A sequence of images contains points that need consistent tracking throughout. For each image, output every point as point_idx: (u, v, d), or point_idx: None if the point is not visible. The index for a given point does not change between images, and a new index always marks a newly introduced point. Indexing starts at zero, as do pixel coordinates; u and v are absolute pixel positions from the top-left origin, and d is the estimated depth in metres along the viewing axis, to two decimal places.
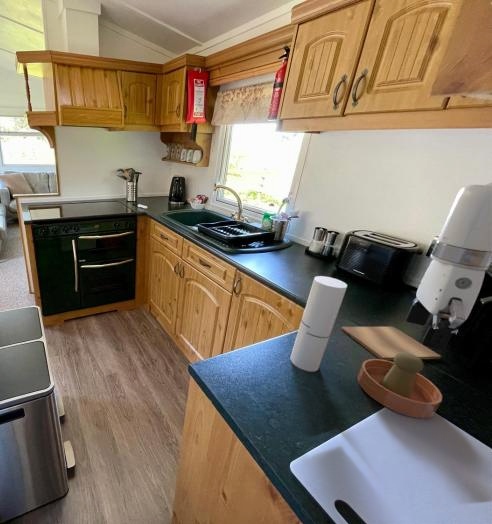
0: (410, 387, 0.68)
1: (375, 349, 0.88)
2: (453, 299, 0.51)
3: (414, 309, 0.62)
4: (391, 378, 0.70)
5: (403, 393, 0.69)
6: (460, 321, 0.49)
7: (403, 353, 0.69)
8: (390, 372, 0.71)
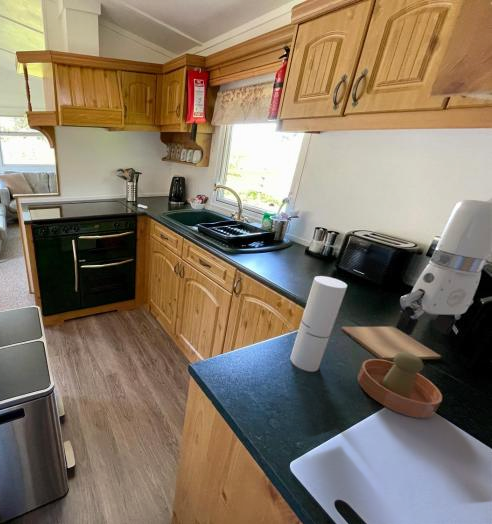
0: (410, 387, 0.68)
1: (375, 349, 0.88)
2: (419, 290, 0.62)
3: (439, 316, 0.66)
4: (391, 378, 0.70)
5: (403, 393, 0.69)
6: (403, 302, 0.62)
7: (403, 353, 0.69)
8: (390, 372, 0.71)
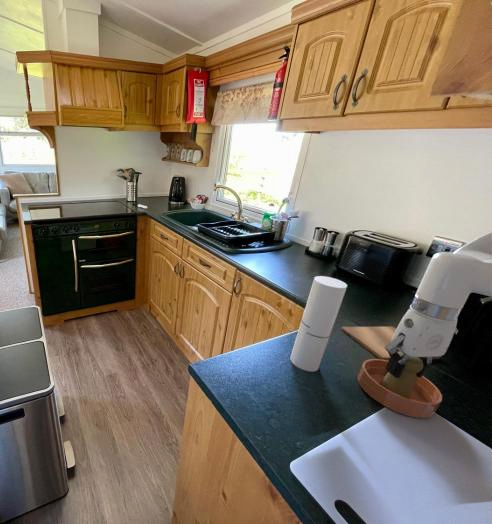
0: (410, 387, 0.68)
1: (375, 349, 0.88)
2: (400, 336, 0.66)
3: None
4: (391, 378, 0.70)
5: (403, 393, 0.69)
6: (388, 351, 0.66)
7: (403, 353, 0.69)
8: None
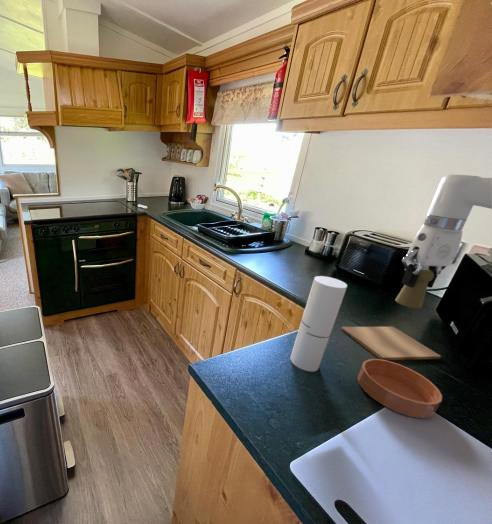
0: (423, 295, 0.81)
1: (375, 349, 0.88)
2: (414, 249, 0.79)
3: None
4: (407, 290, 0.83)
5: (416, 301, 0.81)
6: (404, 262, 0.79)
7: None
8: (405, 285, 0.84)
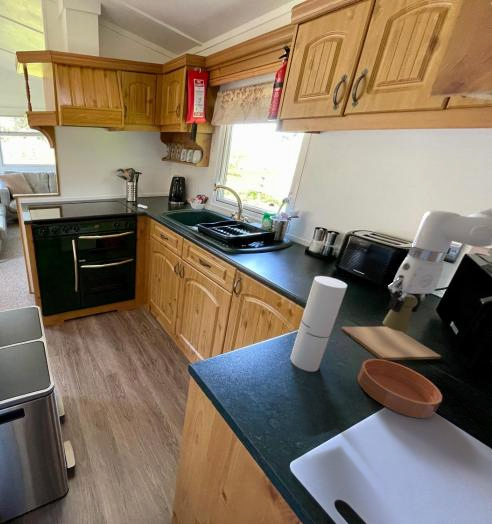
0: (407, 319, 0.87)
1: (375, 349, 0.88)
2: (399, 277, 0.85)
3: None
4: (393, 314, 0.89)
5: (401, 324, 0.88)
6: (390, 290, 0.85)
7: None
8: None
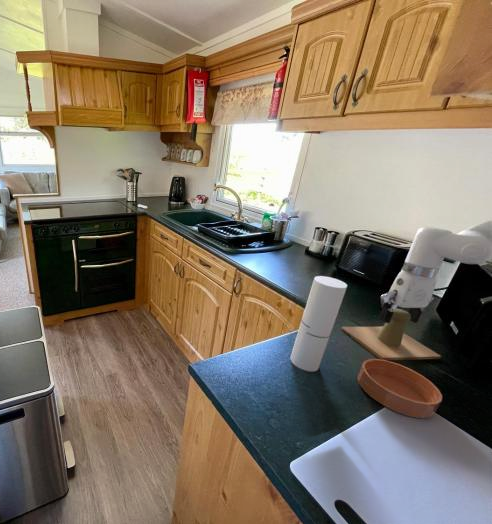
0: (401, 334, 0.89)
1: (375, 349, 0.88)
2: (394, 290, 0.86)
3: (410, 309, 0.91)
4: (387, 329, 0.91)
5: (395, 339, 0.90)
6: (382, 299, 0.86)
7: (395, 309, 0.90)
8: (385, 324, 0.92)
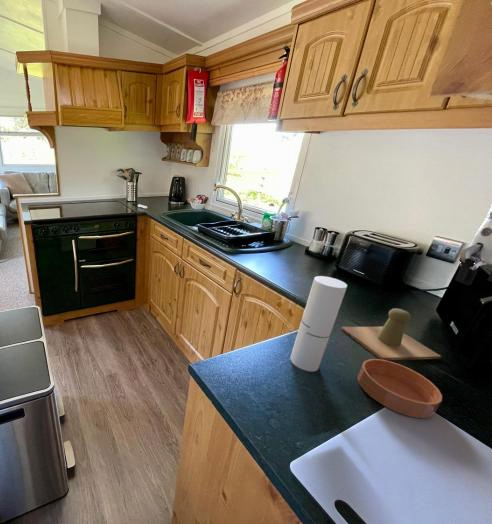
0: (401, 334, 0.89)
1: (375, 349, 0.88)
2: (477, 243, 0.70)
3: None
4: (387, 329, 0.91)
5: (395, 339, 0.90)
6: (463, 254, 0.70)
7: (395, 309, 0.90)
8: (386, 324, 0.92)
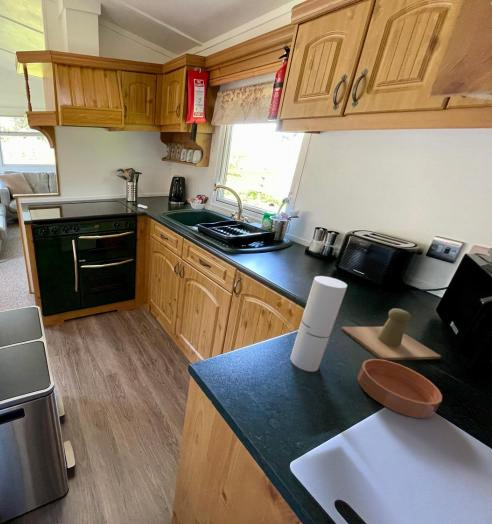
0: (401, 334, 0.89)
1: (375, 349, 0.88)
2: None
3: None
4: (387, 329, 0.91)
5: (395, 339, 0.90)
6: None
7: (395, 309, 0.90)
8: (386, 324, 0.92)
